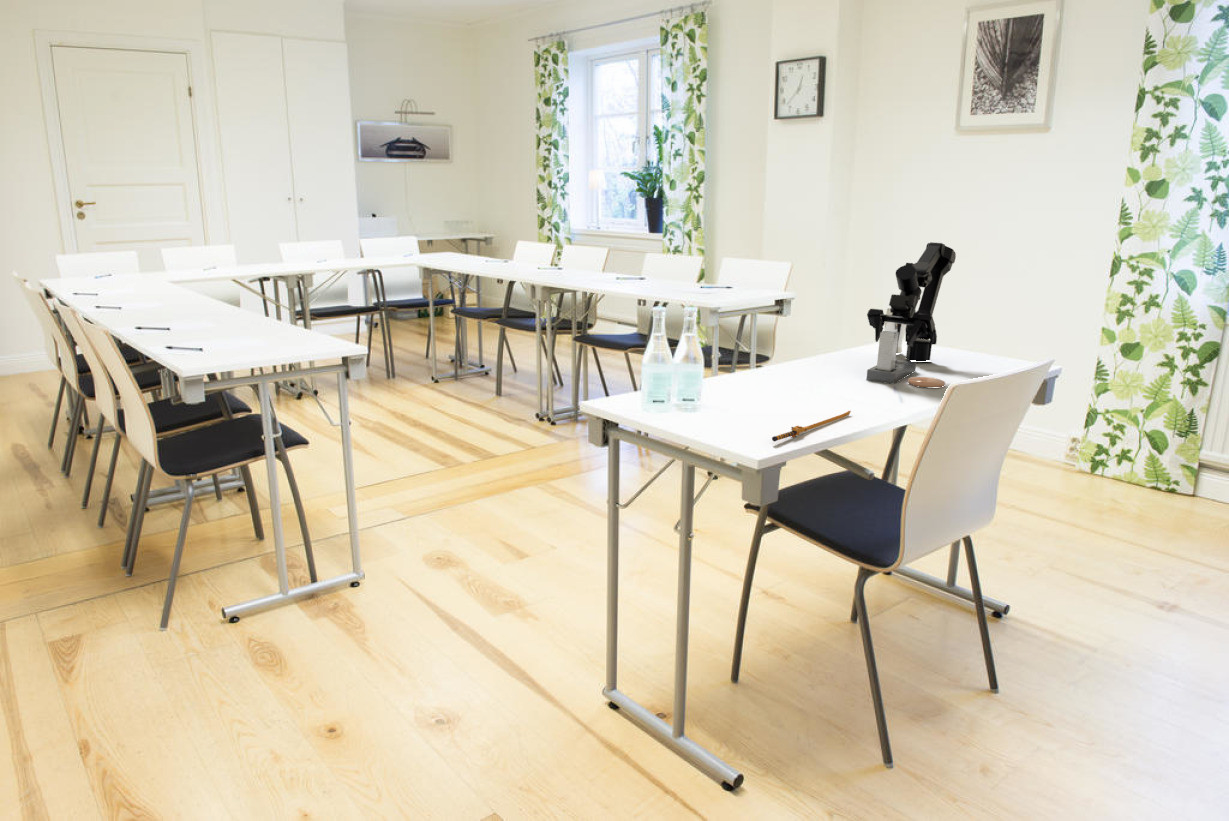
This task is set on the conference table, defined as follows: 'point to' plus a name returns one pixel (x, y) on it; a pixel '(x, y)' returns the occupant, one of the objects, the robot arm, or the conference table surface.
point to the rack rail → (892, 377)
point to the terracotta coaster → (926, 382)
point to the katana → (808, 427)
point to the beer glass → (896, 330)
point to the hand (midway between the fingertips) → (891, 342)
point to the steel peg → (887, 351)
